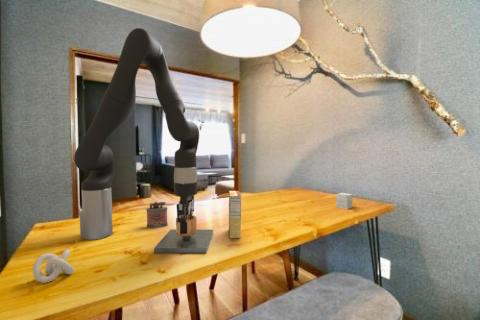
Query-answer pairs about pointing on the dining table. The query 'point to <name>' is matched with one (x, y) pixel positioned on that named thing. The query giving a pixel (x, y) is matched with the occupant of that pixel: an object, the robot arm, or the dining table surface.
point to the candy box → (234, 214)
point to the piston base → (185, 242)
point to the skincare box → (344, 200)
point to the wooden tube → (188, 226)
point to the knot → (49, 268)
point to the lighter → (156, 215)
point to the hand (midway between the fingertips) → (186, 229)
